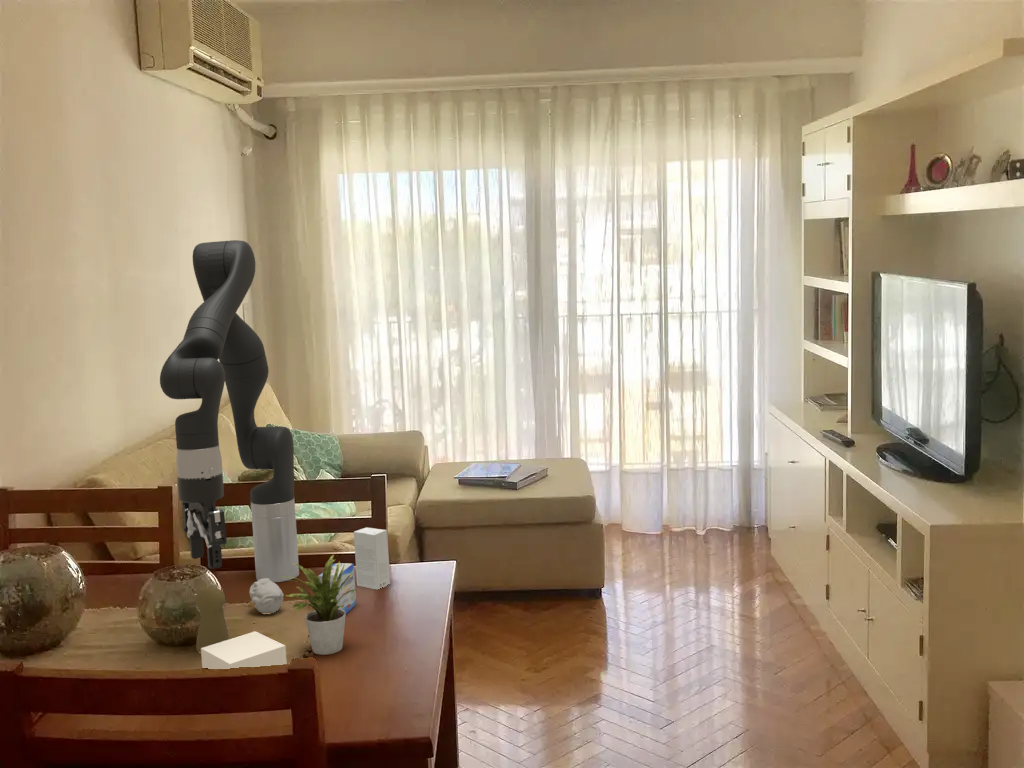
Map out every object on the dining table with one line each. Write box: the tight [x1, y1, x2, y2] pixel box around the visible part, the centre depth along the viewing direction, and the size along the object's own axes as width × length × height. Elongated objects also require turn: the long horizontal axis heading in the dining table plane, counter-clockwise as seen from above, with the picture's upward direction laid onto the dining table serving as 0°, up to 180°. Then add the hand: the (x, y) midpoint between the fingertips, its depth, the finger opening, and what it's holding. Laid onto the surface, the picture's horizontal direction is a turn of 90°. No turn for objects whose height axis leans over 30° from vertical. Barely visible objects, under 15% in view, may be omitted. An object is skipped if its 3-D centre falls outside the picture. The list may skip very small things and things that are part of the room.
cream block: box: [200, 630, 288, 669], centre depth 158 cm, size 10×10×5 cm
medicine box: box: [317, 562, 357, 615], centre depth 186 cm, size 8×4×9 cm, turn 168°
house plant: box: [283, 554, 360, 656], centre depth 168 cm, size 14×14×16 cm
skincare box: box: [353, 527, 391, 591], centre depth 201 cm, size 6×4×12 cm
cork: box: [195, 587, 230, 652], centre depth 169 cm, size 6×6×11 cm
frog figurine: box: [249, 578, 285, 614], centre depth 186 cm, size 6×7×7 cm
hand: (206, 562), depth 167 cm, fingers open, 8 cm apart
